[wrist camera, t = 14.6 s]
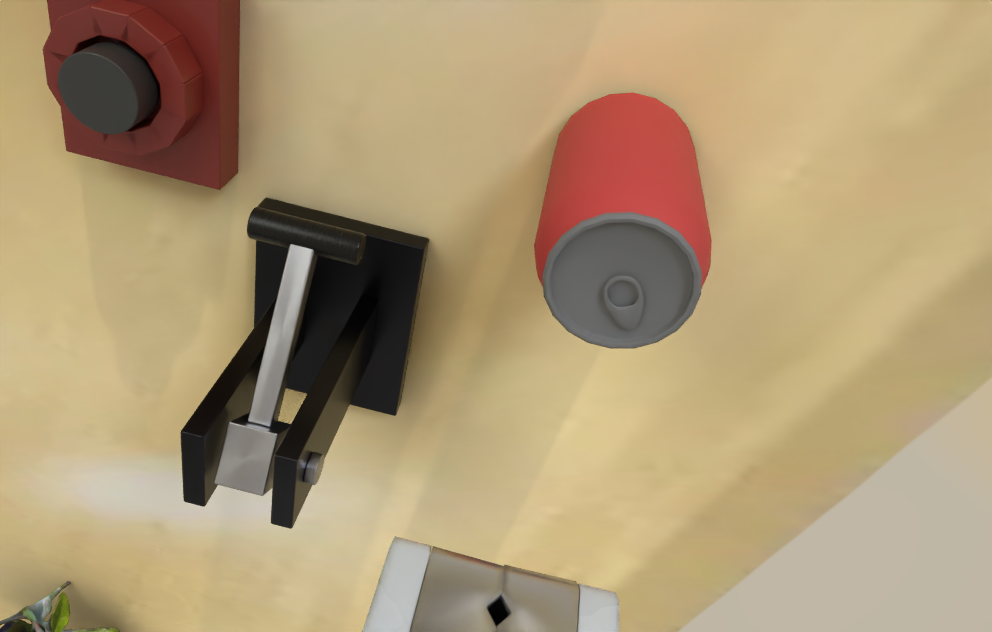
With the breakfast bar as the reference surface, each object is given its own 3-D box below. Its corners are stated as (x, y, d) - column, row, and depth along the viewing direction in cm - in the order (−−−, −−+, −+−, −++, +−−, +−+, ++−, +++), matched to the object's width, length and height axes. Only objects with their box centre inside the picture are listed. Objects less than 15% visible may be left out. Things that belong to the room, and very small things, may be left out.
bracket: (265, 196, 41) (125, 348, 30) (429, 238, 41) (352, 405, 30) (259, 368, 48) (144, 544, 37) (400, 403, 48) (328, 591, 36)
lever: (265, 209, 35) (247, 203, 33) (370, 235, 35) (360, 232, 33) (203, 463, 36) (182, 476, 33) (308, 490, 36) (294, 504, 33)
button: (76, 32, 34) (52, 42, 32) (156, 52, 34) (135, 63, 32) (85, 110, 36) (62, 123, 34) (160, 129, 36) (140, 143, 34)
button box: (69, -71, 35) (10, -57, 32) (240, -28, 35) (199, -10, 32) (91, 135, 41) (43, 165, 37) (238, 172, 40) (203, 205, 37)
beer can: (570, 228, 40) (550, 371, 30) (540, 105, 36) (507, 220, 26) (702, 205, 38) (727, 349, 28) (683, 73, 34) (705, 183, 25)
